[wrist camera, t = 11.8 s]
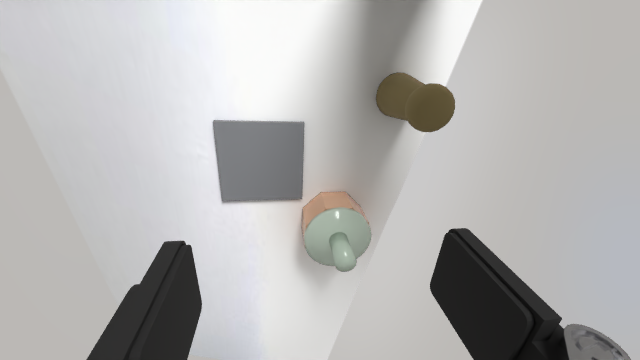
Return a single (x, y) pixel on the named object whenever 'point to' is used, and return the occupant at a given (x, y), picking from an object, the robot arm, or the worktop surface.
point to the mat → (259, 159)
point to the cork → (415, 102)
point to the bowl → (327, 206)
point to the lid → (337, 237)
